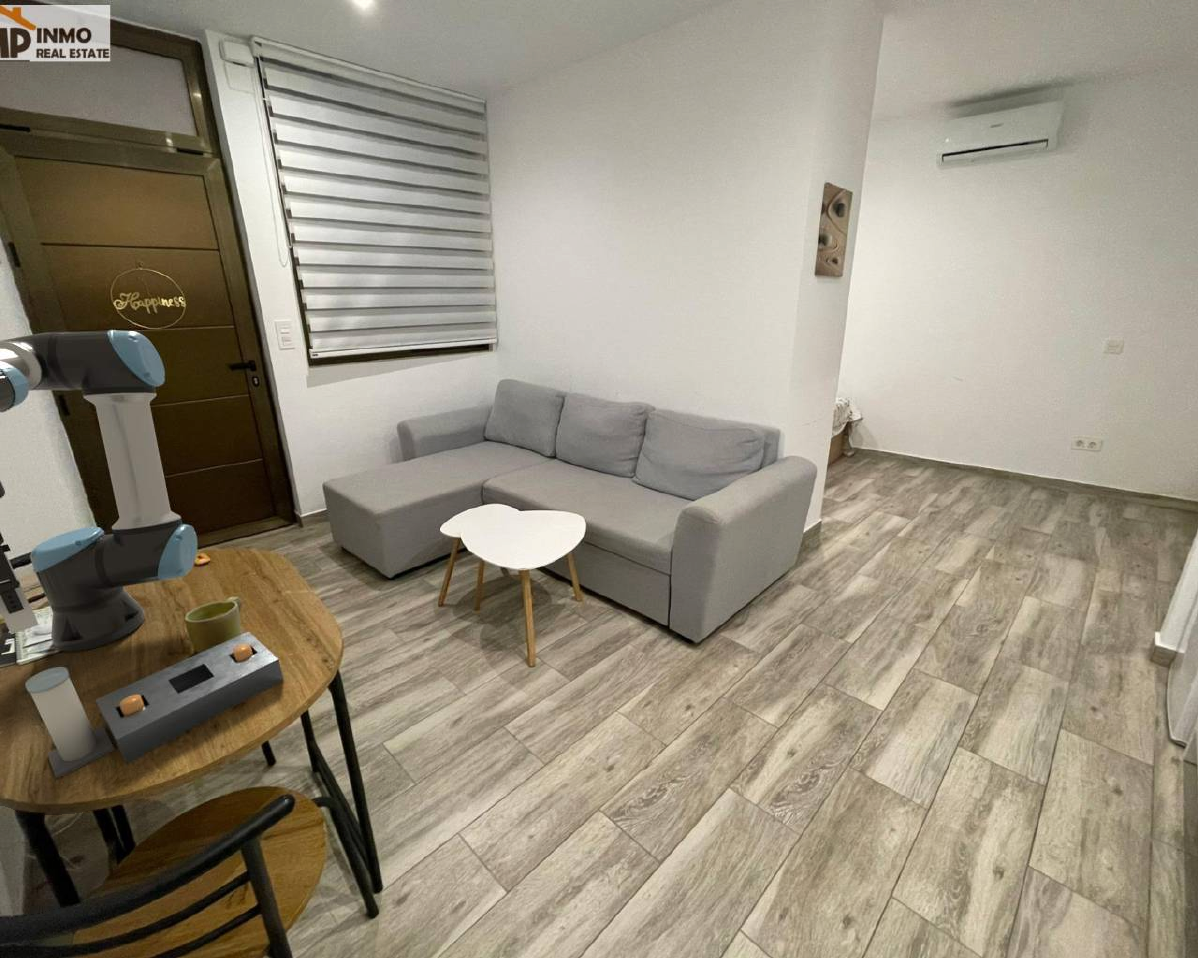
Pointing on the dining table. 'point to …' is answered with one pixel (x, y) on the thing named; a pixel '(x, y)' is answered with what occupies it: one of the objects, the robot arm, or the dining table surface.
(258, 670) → the housing
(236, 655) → the orange egg shape
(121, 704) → the plunger near
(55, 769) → the mat
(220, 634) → the mug
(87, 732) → the cartridge
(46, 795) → the dining table surface
